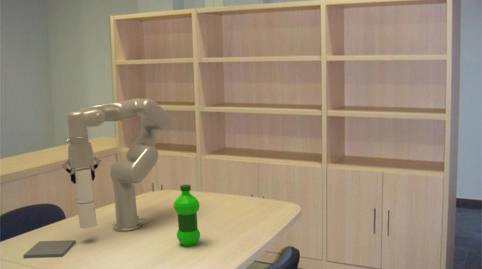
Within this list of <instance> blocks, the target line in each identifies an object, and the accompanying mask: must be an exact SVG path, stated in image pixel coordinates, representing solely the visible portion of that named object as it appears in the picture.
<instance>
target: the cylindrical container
mask: <svg viewBox="0 0 482 269" xmlns="http://www.w3.org/2000/svg"><path fill="white" fill-rule="evenodd" d="M74 174H75V181H76V183H75V184H74V186H75V194H76V195H75V196H76V205H77V214H78V221H79V228H80V229H90V228H94V227H96V226H97V224H98V222H97V215H96V213H97V212H96V204H95V196H94V185H93V180H92V175H91V168H90V167H83V168H76V169H75V171H74Z"/></svg>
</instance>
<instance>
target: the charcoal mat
mask: <svg viewBox="0 0 482 269" xmlns="http://www.w3.org/2000/svg"><path fill="white" fill-rule="evenodd" d="M76 241H77V240H76V239H73V240H72V239H69V240H68V239H67V240H40V241H38V242H37V243H35V244H34V245H33V246H32V247H31V248H30V249H29V250H27V251H26V252H25V253H24V254H23V259H27V258H28V259H29V258H31V259H32V258H36V259H37V258H63V257H64V256H65V255H66V254H67V253H68V252H69V251H70V250H71V248H72V247H73V246H74V245H75V244H76V243H77V242H76Z"/></svg>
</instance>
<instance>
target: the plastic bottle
mask: <svg viewBox="0 0 482 269" xmlns="http://www.w3.org/2000/svg"><path fill="white" fill-rule="evenodd" d="M179 188H180V192H181V194H180V195H179V196H178V197H177V198H176V199H175V201H174V203H173V208H174V211H175V212H176V214H177V223H178V225H177V226H178V230H177V232H176V238H177V241H178V242H179V243H180V244H182V246H184V247H191V246H194V245H196V243H197V242H198V241H199V240H200V238H201V232H200V230H199V229H198V227H199V226H198V214H197V213H198V212H199V210H200V202H199V200H198V198H196V197H195V196H194V195H193V194H192V193H191V192H190V191H191V184H181V185H180V186H179Z"/></svg>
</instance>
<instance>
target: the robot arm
mask: <svg viewBox="0 0 482 269" xmlns="http://www.w3.org/2000/svg"><path fill="white" fill-rule="evenodd" d="M66 116H67V117H66V118H67V126H68V135H69V138H68V139H65V142H66V143H69V144H68V148H67V150H68V151H67V154H68V155H67V158H68V159H67V160H66V161H65V162H64V163H63V164H62V165H61V167H62V169H63V170H64V171H66V172H67V173H68V174H69V175H70V181H71V182H72V183H73V185H75V183H76V181H75V174H74V171H75V169H77V168H84V167H89V168H91V175H92V181H95V178H96V173H95V172H96V170H97V168H98V167H99V165H100V164H101V162H102V160H100V159H99V158H97V157H95V155H94V150H93V146H92V143H91V142H89V132H88V128H90V127H92V128H93V127H95V128H96V127H99V126H102V125H103V124H104V123H105V122H120V121H126V120H129V119H134V118H139V117H141V118H140V129H141V130H140V135H139V136H138V138H137V139H136V140H135V141H134V142H133V143H132V145H131V146H130V147H129V148H128V150H127V152H126V156H125V157H126V160H116V161H114V162H113V163H112V165H111V166H110V171H109V172H110V177H111V181H112V186H113V194H114V205H115V206H114V208H115V220H116V223H114V225H113V230H115V231H116V232H117V231H118V232H129V231H133V230H137V229H139V228H141V227H142V225H143V224H147V219H146V218H141V217H140V216H139V215H138V213H137V211H138V210H137V198H136V189H135V184H139V183H141V182H142V181H143V180H145V179H146V177H147V176H148V175H149V173H150V172H151V171H152V169H153V168H154V167H155V165H156V164H157V162H158V159H159V151H158V149H157V148H156V147H155V146H156V144H157V132H156V130H158V131H165V130H168V129H170V127H171V125H172V117H171V115H170V114H169V113H168V112H167V111H166V110H165V109H164V108H163V107H162V106H160V105H159V103H157V102H156V101H155V100H153V99H150V98H131V99H126V100H122V101H117V102H109V103H106V104H99V105H93V106H92V105H91V106H87V107H82V108H79V109H78V110H76V111H70V112H68V113H67V115H66ZM67 166H69V167H70V169H69V168H68V167H67Z"/></svg>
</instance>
